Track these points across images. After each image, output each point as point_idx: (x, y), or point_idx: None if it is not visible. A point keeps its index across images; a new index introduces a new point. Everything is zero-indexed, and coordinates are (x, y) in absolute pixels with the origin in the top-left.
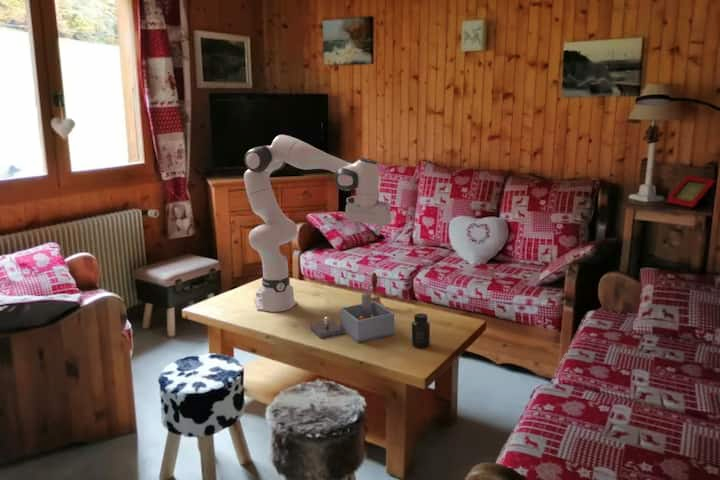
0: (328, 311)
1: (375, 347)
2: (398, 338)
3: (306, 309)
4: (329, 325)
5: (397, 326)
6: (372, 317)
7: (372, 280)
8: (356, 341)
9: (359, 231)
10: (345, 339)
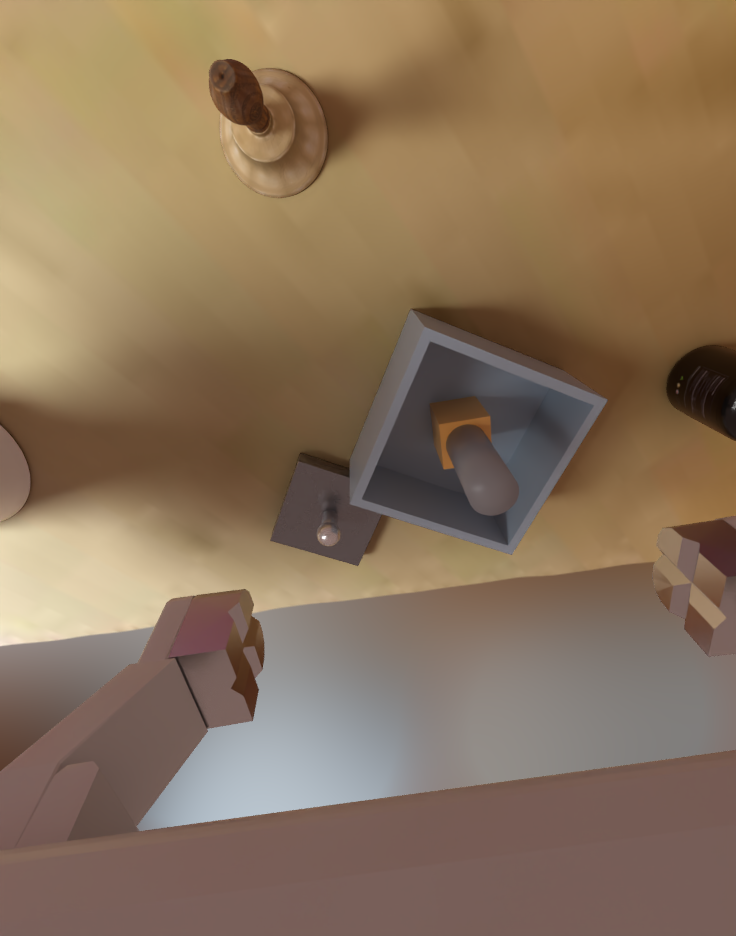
0: (156, 356)
1: (557, 492)
2: (593, 384)
3: (67, 404)
4: (325, 500)
5: (528, 285)
6: (541, 493)
7: (239, 122)
8: None
9: (259, 629)
10: None
